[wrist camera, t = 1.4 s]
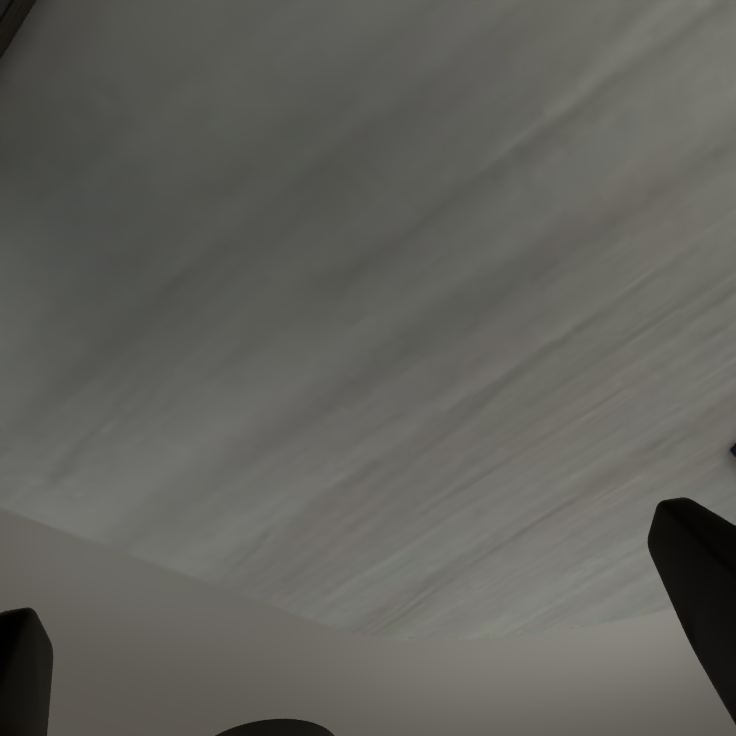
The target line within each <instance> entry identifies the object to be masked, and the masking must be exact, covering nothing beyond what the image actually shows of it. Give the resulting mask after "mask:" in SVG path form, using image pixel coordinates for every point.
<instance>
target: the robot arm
mask: <svg viewBox="0 0 736 736" xmlns="http://www.w3.org/2000/svg"><path fill="white" fill-rule="evenodd" d="M648 548H649V552H650V554H651V557H652V559H653V561H654V563H655V566H656V568H657V570H658V573H659V575H660V577H661V579H662V582H663V584H664V586H665V588H666V591H667V593H668V595H669V598H670V600H671V602H672V604H673V607H674V609H675V611H676V613H677V616H678V618H679V620H680V622H681V625H682V627H683V629H684V631H685V634H686V636H687V638H688V640H689V642H690V644H691V646H692V648H693V650H694V652H695V654H696V655H697V657H698V659H699V661H700V663H701V665H702V666H703V668H704V670H705V672H706V673H707V675H708V677H709V679H710V680H711V682H712V684H713V686H714V688H715V689H716V691H717V693H718V695H719V696H720V698H721V699H722V702H723V703H724V705H725V707H726V709H727V710H728V712H729V714H730V716H731V717H732V719H733V721H734V722H735V724H736V526H735V525H733V524H732V523H730V522H728V521H727V520H725V519H723V518H722V517H720V516H718V515H717V514H715V513H713V512H712V511H710V510H708V509H707V508H705V507H703V506H702V505H700V504H698V503H696V502H695V501H693V500H691V499H689V498H684V497H682V498H675V499H669V500H664V501H661V502H660V503H659V504H658V505H657V507H656V511H655V514H654V518H653V521H652V524H651V528H650V531H649V535H648ZM52 668H53V649H52V644H51V642H50V639H49V637H48V635H47V633H46V631H45V629H44V627H43V625H42V623H41V621H40V619H39V618H38V615H37V613H36V612H35V611H34V610H33V609H32V608H21V609H15V610H9V611H4V612H1V613H0V736H47V727H48V717H49V705H50V692H51V680H52Z"/></svg>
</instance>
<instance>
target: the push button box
mask: <svg viewBox="0 0 736 736" xmlns="http://www.w3.org/2000/svg"><path fill="white" fill-rule="evenodd" d="M731 452H732V453H733V454H734V455H735V456H736V446H735V447H734V448H733V449H731Z"/></svg>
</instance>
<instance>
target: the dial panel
mask: <svg viewBox="0 0 736 736" xmlns="http://www.w3.org/2000/svg"><path fill="white" fill-rule="evenodd" d="M35 2H36V0H0V59H1V58H2V56H3V54H4V53H5V51H6V50H7V48H8V46H9V45H10V43H11V41H12V40H13V38H14V36H15V35H16V33H17V32H18V30H19V28H20V27H21V25H22V23H23V22H24V20H25V18H26V17H27V15H28V14H29V12H30V10H31V9H32V7H33V5H34V4H35Z"/></svg>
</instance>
